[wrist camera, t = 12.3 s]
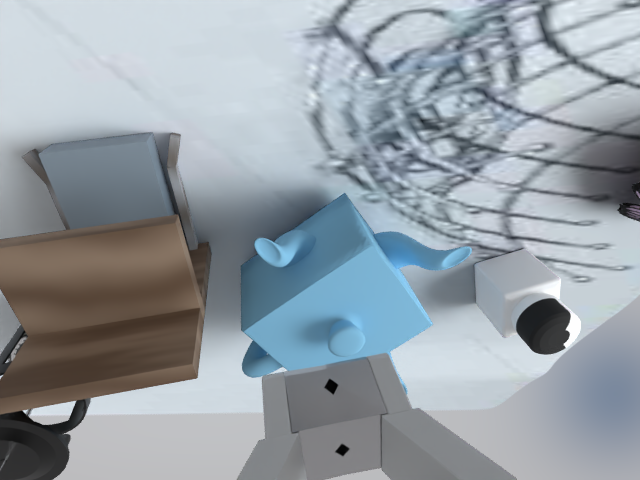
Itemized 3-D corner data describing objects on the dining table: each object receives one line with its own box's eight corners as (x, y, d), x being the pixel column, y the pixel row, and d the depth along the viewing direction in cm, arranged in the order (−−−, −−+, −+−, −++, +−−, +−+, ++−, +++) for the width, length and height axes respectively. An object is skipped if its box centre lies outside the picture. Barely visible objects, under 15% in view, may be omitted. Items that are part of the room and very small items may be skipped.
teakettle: (235, 314, 51) (233, 416, 38) (249, 171, 42) (253, 242, 30) (378, 318, 55) (419, 411, 43) (418, 189, 47) (484, 258, 34)
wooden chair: (24, 150, 38) (-123, 250, 22) (180, 131, 39) (143, 213, 24) (80, 273, 45) (-4, 415, 29) (211, 253, 46) (197, 378, 31)
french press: (78, 268, 44) (-50, 478, 25) (142, 320, 49) (78, 532, 29) (-1, 323, 46) (-181, 561, 26) (68, 368, 51) (-40, 599, 31)
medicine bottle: (475, 303, 57) (527, 369, 47) (473, 262, 53) (529, 324, 43) (524, 289, 57) (586, 351, 47) (525, 247, 53) (593, 304, 43)
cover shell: (51, 144, 38) (38, 154, 35) (152, 132, 39) (146, 141, 36) (96, 254, 44) (88, 269, 41) (183, 241, 45) (179, 256, 42)
